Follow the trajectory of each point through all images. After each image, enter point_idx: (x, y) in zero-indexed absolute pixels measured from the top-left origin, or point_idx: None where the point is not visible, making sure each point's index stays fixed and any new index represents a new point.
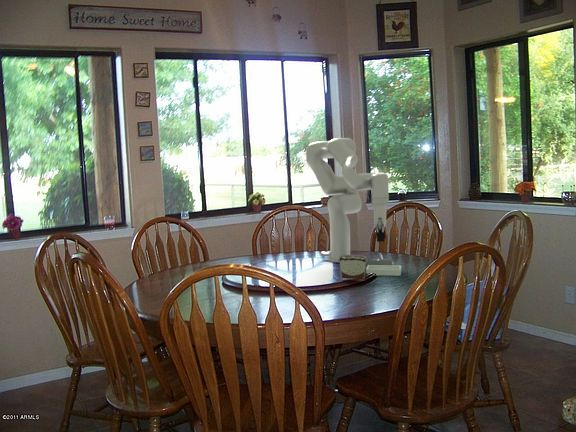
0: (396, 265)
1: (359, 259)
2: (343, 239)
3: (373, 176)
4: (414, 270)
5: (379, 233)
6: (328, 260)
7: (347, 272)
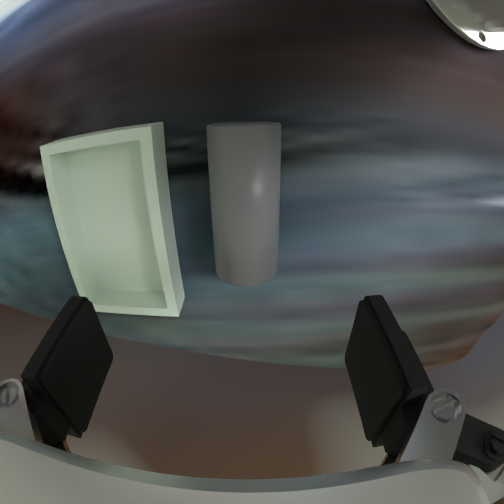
0: (171, 297)
1: None
2: None
3: None
4: (217, 342)
5: (29, 390)
6: None
7: None
